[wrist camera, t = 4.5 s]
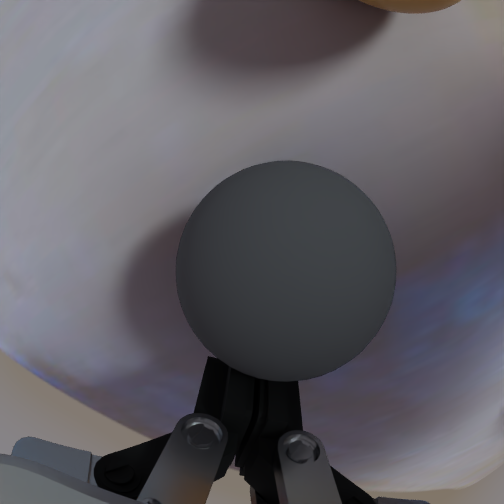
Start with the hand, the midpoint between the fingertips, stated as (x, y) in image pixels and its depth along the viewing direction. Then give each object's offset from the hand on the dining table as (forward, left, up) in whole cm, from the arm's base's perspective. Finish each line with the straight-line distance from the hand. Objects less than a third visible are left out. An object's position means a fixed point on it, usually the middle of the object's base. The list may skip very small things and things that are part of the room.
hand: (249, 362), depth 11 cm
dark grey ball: (-2, -4, +1) cm, 5 cm away
